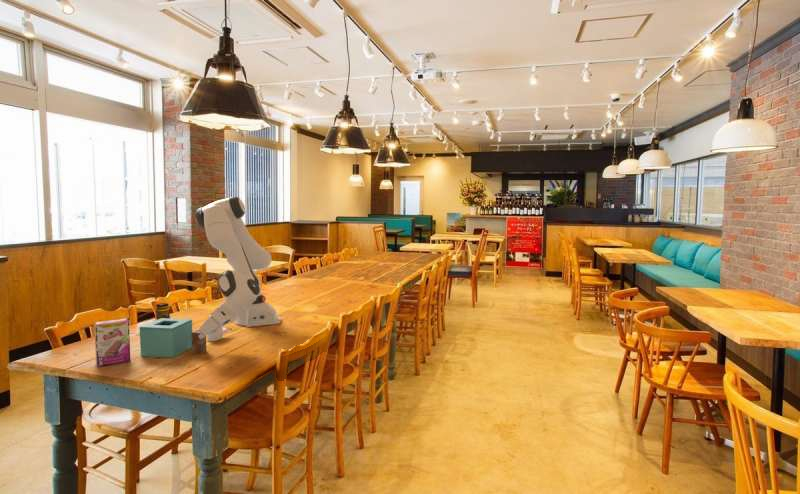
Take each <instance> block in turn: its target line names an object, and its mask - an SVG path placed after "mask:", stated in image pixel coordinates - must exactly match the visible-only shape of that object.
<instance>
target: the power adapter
mask: <svg viewBox="0 0 800 494" xmlns="http://www.w3.org/2000/svg"><path fill="white" fill-rule="evenodd" d="M231 330H233V328H231V327H230V328H229V327H221V328H219V329H218V330H217V331H216V332H211V333H210V334H208V335H206V338H207V340H208V341H209V342H216V341H220V340H222V339H223V338H224V337H223V336H224V335H223V334H226V333H229V331H231Z"/></svg>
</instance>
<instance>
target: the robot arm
mask: <svg viewBox="0 0 800 494" xmlns="http://www.w3.org/2000/svg"><path fill="white" fill-rule="evenodd" d="M245 214H246V206H245V204H244V202H243V200H241V198H240V197H238V196H229V197H227V198H223V199H219V200H216V201H214V202H211V203H209V204H207V205H205V206H201V207H199V208H197V209H196V211H195V213H194V217H195V222H196V224H197V225H198V226H199V227H200V228H201V229H203V230H204V231H205V234H206V239H207V241H208V242H209V244H210V245H211V247H212V248H214V249H216V250H218V251H219V252H220V253H223V254H225V256H226V262H227V263H228V264H229V265H230V267H231V268H232V269H233V270H229V269H228V270H225V271H223V272H222V273H220V275H219V277H218V278H217V282H216V283H217V288H218V290H219V291H220V292H221V294H223V296H225V299H224V300H223V301H222V302H221V303H220V304H219V305H218V306H217V307H216V308H215V309H213V310H212V311H211V312H210V316H209V317H208V318H207V319H206V320H205V321H204V322H203V323H202V325H201V326H200V327H199V329H198V330H199V331H200V332H201V334H200V335H199V336H198V337H199V338H200V339H203V338H204V337H205V336H206V337H207V335H208V334H210V333H211V332H216V331H217V330H218V329H219V328H221V327H222V328H224V326H226V325H228V324H230V323H235V324H236V325H238V326H244V327H248V328H250V327H260V326H261V327H262V326H269V325H278V324H280V323H281V322H282V318H281V316H279V315H278V314H277V311H276V308H275V307H274V306H272V305H271V304H269V303H268V302H266V300H267V298H266V295H264V294H262V281H261V279H260V277H259V276H257V274H256V273H255V271H256V270H257V271H259V270H264V269H267V268H269V267H270V265H271V263H272V255H271V253H270V251H269V250H267V249H265V248H264V247H263V246H261V245H260V244H259V243H258V242H257V241H256V240H255V239H254V238H253V237H252V236H251V234H250V232H249V230H248V228H247V226H246V225H245V223H244V221H243V219H242V217H244V215H245Z"/></svg>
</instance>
